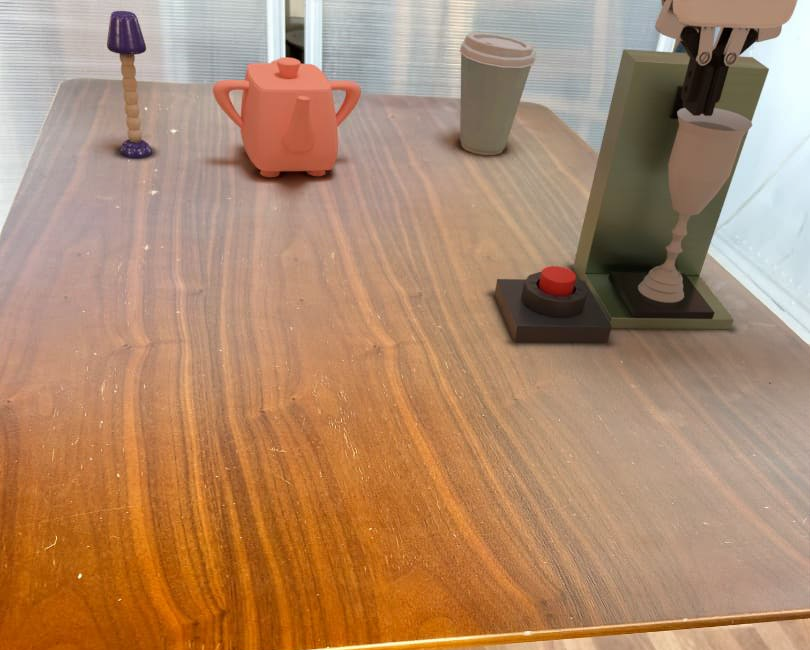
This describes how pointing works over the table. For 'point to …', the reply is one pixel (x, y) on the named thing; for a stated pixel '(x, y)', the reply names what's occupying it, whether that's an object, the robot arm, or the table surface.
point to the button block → (550, 313)
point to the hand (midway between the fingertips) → (696, 110)
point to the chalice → (694, 184)
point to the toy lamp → (129, 77)
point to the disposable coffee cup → (491, 89)
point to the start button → (557, 281)
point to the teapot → (288, 115)
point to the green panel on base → (653, 195)
